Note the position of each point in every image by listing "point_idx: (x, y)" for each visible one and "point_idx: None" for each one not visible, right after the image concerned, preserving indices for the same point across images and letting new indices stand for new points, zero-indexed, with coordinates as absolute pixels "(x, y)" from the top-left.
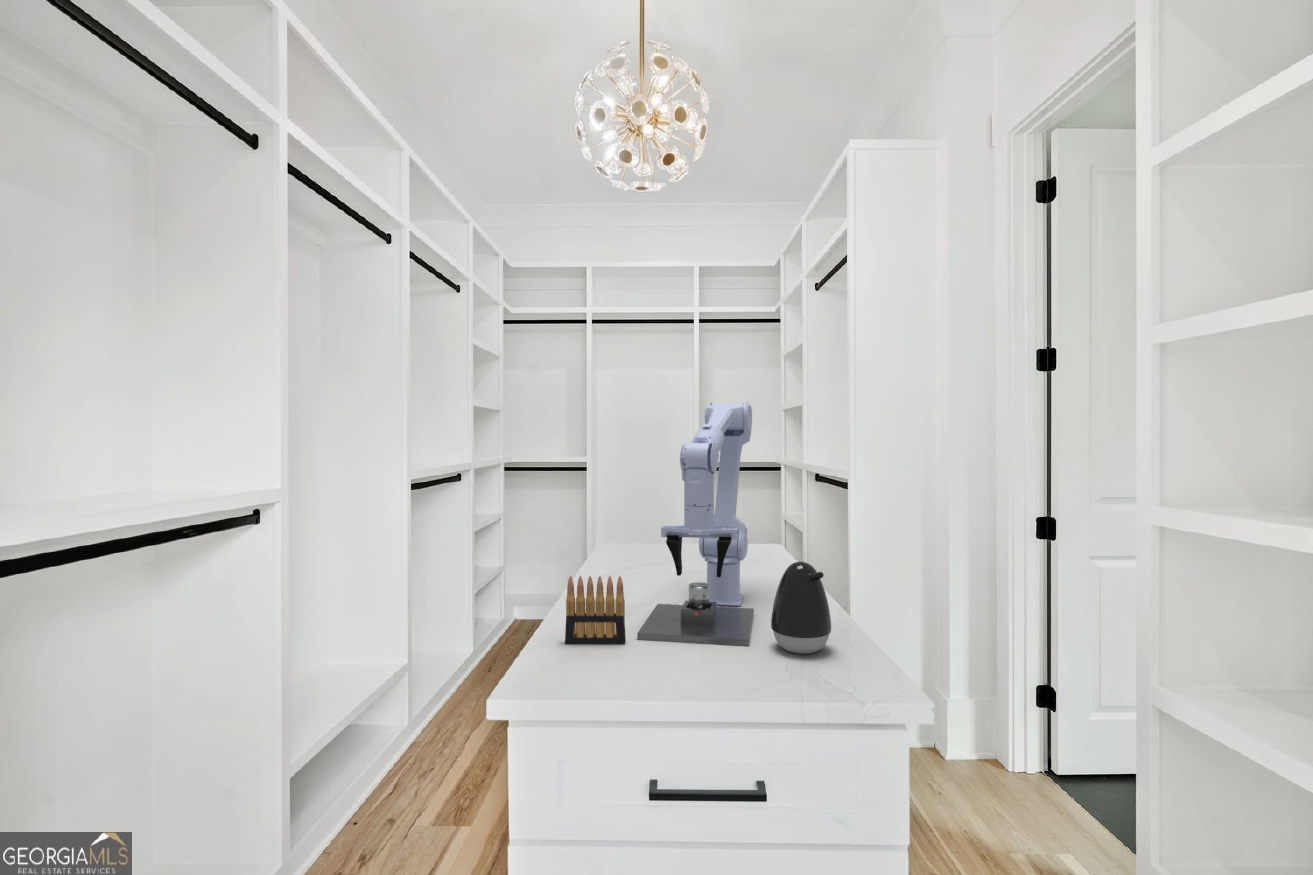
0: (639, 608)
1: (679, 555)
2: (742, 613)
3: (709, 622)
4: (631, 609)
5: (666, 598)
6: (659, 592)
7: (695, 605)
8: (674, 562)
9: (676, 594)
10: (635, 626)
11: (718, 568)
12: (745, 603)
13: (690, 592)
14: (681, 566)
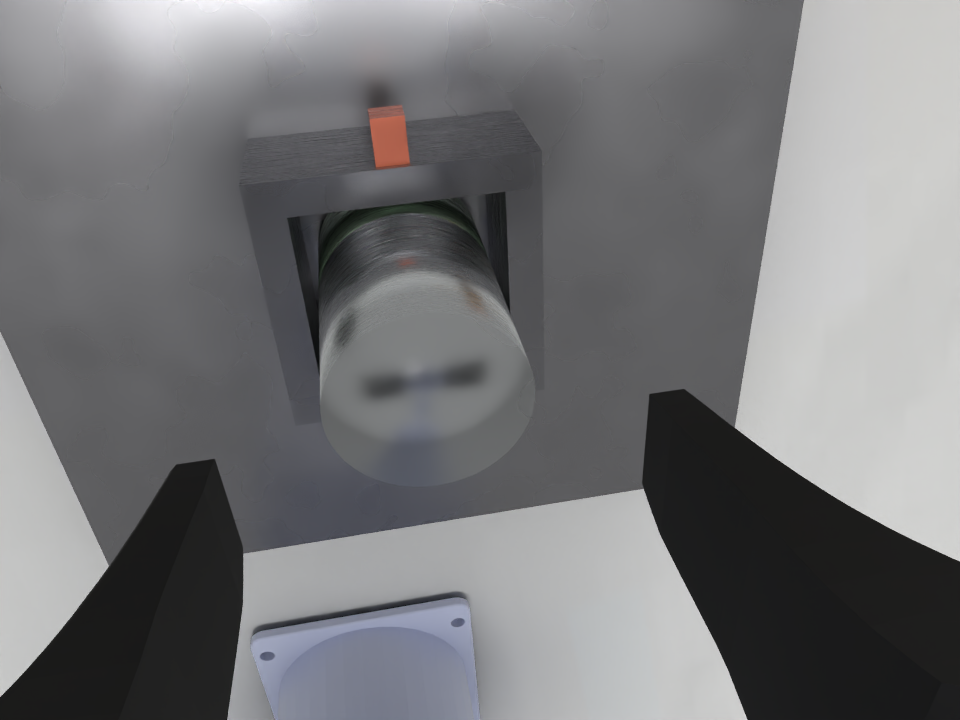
0: (817, 437)
1: (763, 584)
2: (144, 467)
3: (280, 141)
4: (862, 407)
5: (681, 619)
6: (724, 680)
7: (423, 226)
8: (789, 469)
9: (637, 682)
10: (836, 88)
11: (168, 526)
12: (243, 682)
13: (494, 302)
14: (673, 527)
